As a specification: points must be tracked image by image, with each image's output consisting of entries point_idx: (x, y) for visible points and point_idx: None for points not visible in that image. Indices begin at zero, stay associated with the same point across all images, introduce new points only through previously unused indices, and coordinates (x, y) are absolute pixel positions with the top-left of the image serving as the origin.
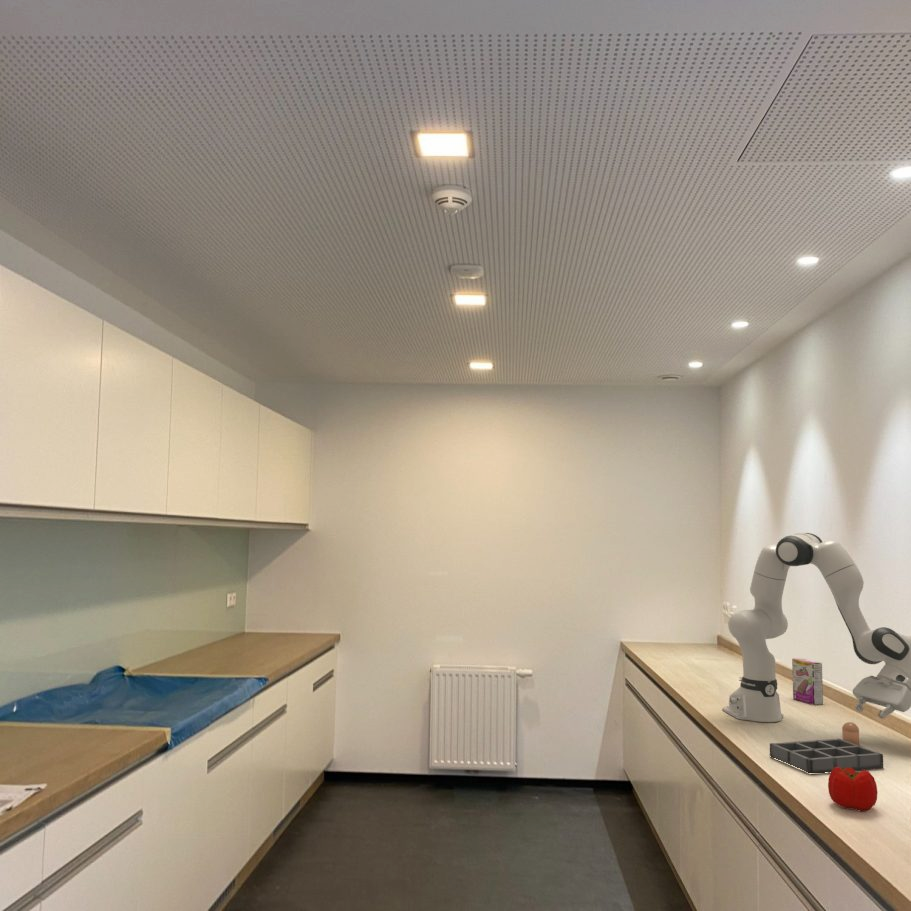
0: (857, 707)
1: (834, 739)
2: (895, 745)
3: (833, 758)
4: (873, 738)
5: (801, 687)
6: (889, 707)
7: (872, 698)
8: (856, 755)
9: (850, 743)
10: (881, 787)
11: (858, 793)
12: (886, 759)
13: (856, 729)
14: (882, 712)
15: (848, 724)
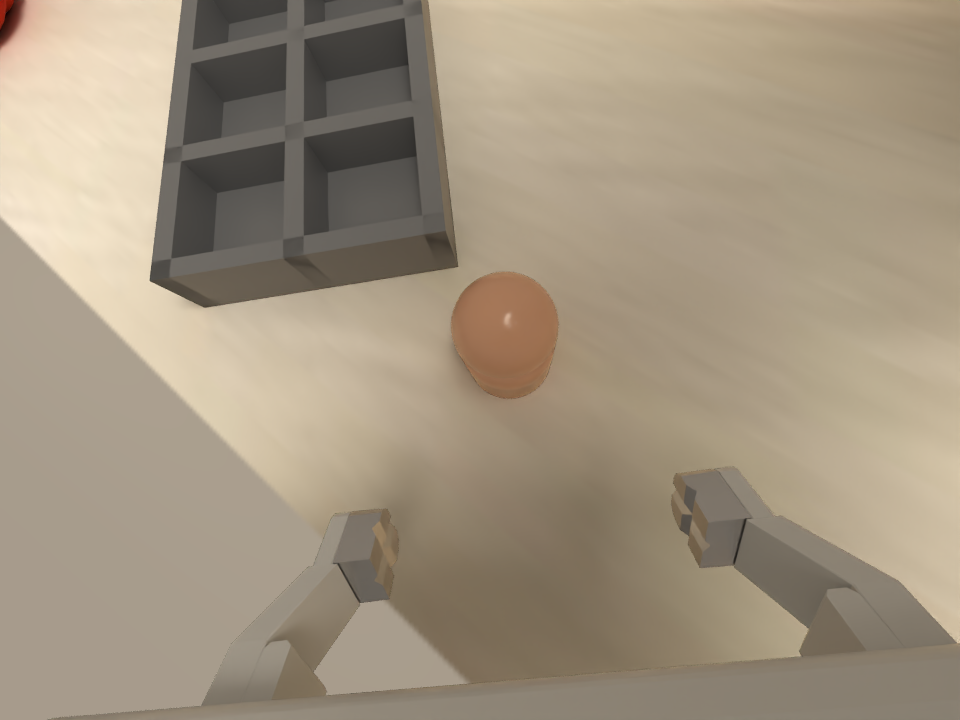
0: (700, 476)
1: (431, 195)
2: None
3: (178, 57)
4: None
5: None
6: (230, 647)
7: (597, 674)
8: (172, 153)
9: (345, 233)
10: (53, 172)
11: None
12: (308, 412)
13: (451, 331)
14: (325, 544)
15: (484, 283)
